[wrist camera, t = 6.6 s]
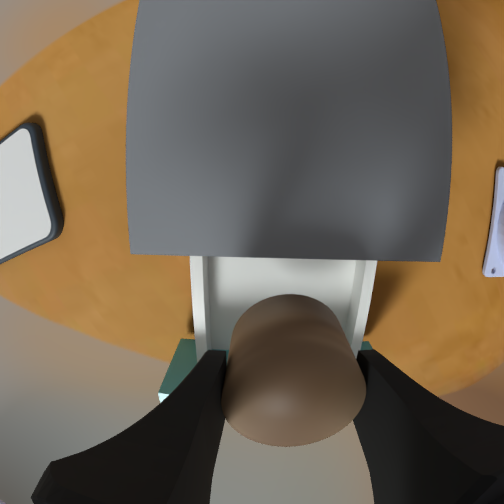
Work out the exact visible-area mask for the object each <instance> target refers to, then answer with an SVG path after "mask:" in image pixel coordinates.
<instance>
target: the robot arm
mask: <svg viewBox="0 0 504 504" xmlns="http://www.w3.org/2000/svg"><path fill="white" fill-rule="evenodd" d="M492 269H493V270H492ZM482 272H483V275H484V276H486V277H504V167H498V168H497V170H496V179H495V193H494V203H493V212H492V220H491V227H490V233H489V239H488V245H487V251H486V256H485V261H484V265H483V271H482ZM356 360H357V362H358V365H359V367H360V369H361V372H362V374H363V376H364V379H365V383H366V397H365V400H364V403H363V405H362V408H361V410H360V411H359V413H358V414H357V415H356V417H355V418H354V419H353V422H354V425H355V428H356V431H357V434H358V436H359V440H360V443H361V446H362V449H363V452H364V455H365V458H366V461H367V464H368V468H369V472H370V477H371V483H372V489H373V495H374V504H504V426H502V425H498V424H495V423H491V422H489V421H486V420H483V419H480V418H478V417H475V416H473V415H471V414H468V413H466V412H464V411H462V410H460V409H458V408H456V407H454V406H452V405H451V404H449V403H447V402H445V401H443V400H442V399H440V398H438V397H437V396H435V395H434V394H432V393H431V392H429V391H428V390H426V389H425V388H423V387H422V386H421V385H419V384H418V383H417V382H415V381H414V380H413V379H411V378H410V377H409V376H407V375H406V374H405V373H404V372H402V371H401V370H400V369H399V368H397V367H396V366H395V365H394V364H392V363H391V362H390V361H389V360H387V359H386V358H385V357H384V356H382V355H381V354H380V353H379V352H377V351H376V350H374V349H372V350H358V354H357V358H356ZM226 367H227V362H226V351H222V350H207V351H206V352H205V353H204V355H203V356H202V357H201V359H200V360H199V361H198V363H197V364H196V365H195V367H194V368H193V369H192V370H191V371H190V373H189V374H188V375H187V376H186V377H185V378H184V380H183V381H182V382H181V383H180V384H179V385H178V386H177V387H176V388H175V389H174V390H173V391H172V392H171V393H170V394H169V395H168V396H167V397H166V398H165V399H164V400H163V401H162V402H161V403H160V404H159V405H158V406H156V407H155V408H154V409H153V410H152V411H151V412H149V413H148V414H147V415H146V416H144V417H143V418H142V419H140V420H139V421H137V422H136V423H134V424H133V425H132V426H130V427H129V428H127V429H126V430H124V431H122V432H121V433H119V434H117V435H116V436H114V437H112V438H110V439H108V440H106V441H104V442H102V443H101V444H98V445H96V446H94V447H92V448H90V449H87V450H85V451H83V452H80V453H77V454H74V455H71V456H69V457H65V458H62V459H59V460H56V461H52V462H51V463H50V464H49V466H48V467H47V468H46V470H45V471H44V473H43V475H42V477H41V479H40V481H39V482H38V485H37V487H36V488H35V490H34V492H33V494H32V496H31V499H32V501H33V503H34V504H209V503H210V494H211V484H212V477H213V471H214V466H215V462H216V457H217V453H218V449H219V444H220V440H221V436H222V431H223V426H224V422H225V416H224V414H223V411H222V407H221V396H222V390H223V385H224V379H225V373H226ZM0 504H6V503H5V502H3V501H2V500H0Z"/></svg>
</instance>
